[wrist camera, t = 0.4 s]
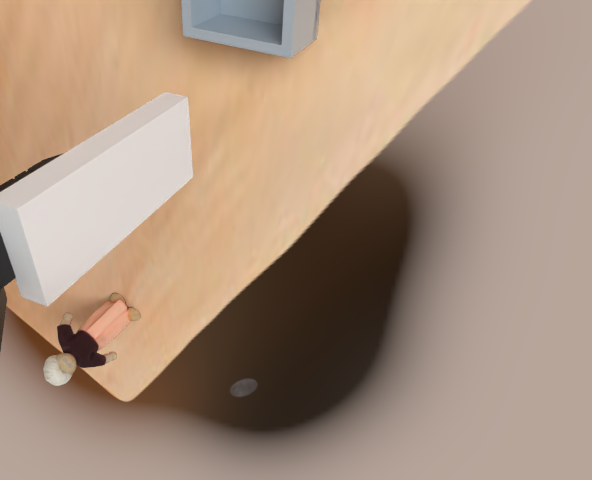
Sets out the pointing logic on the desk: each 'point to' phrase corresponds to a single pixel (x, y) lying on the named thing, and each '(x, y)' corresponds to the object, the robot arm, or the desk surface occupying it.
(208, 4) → the grey cubby shelf
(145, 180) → the robot arm
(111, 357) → the grandmother figurine
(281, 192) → the desk surface
